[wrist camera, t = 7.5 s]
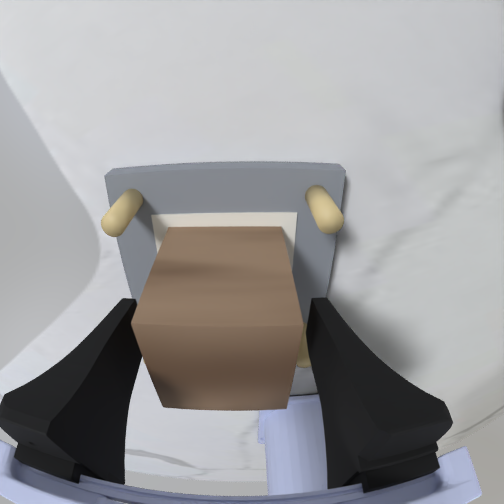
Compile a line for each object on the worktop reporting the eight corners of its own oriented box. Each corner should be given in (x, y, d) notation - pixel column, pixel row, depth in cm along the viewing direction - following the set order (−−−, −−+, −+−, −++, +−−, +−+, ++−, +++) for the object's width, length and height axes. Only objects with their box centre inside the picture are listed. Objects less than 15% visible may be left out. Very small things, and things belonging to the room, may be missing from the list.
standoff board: (313, 329, 19) (324, 373, 16) (149, 329, 18) (137, 373, 16) (339, 163, 13) (366, 192, 10) (112, 168, 13) (79, 197, 10)
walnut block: (274, 310, 16) (286, 409, 11) (180, 310, 16) (163, 407, 11) (281, 226, 14) (303, 325, 9) (168, 227, 13) (131, 323, 8)
